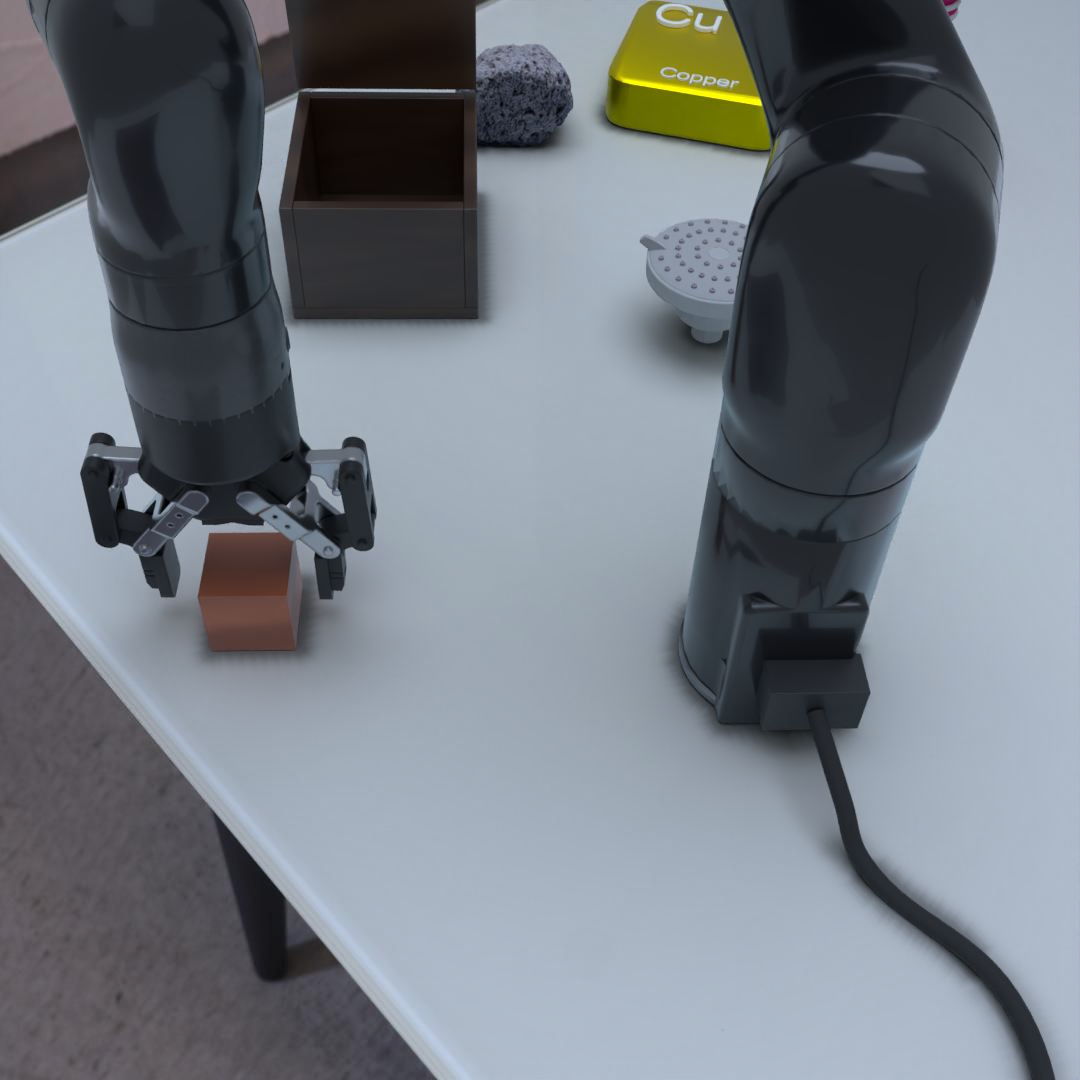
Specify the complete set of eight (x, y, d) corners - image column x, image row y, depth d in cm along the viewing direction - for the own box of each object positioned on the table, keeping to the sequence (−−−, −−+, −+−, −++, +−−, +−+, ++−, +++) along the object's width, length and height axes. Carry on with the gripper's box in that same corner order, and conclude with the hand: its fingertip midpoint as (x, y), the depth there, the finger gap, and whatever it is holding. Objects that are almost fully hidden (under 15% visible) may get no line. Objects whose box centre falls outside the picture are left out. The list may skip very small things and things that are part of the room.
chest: (478, 318, 92) (477, 209, 85) (293, 318, 91) (278, 208, 84) (477, 198, 101) (476, 92, 95) (311, 197, 101) (298, 90, 94)
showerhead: (650, 195, 90) (797, 216, 88) (641, 282, 95) (779, 302, 94) (629, 277, 83) (786, 300, 82) (620, 365, 89) (768, 387, 88)
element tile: (599, 125, 109) (603, 71, 106) (639, 42, 119) (643, -10, 115) (778, 156, 107) (788, 102, 103) (803, 68, 116) (813, 16, 113)
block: (295, 650, 72) (286, 596, 68) (211, 651, 72) (197, 597, 68) (303, 586, 75) (294, 531, 71) (221, 586, 75) (208, 532, 71)
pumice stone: (481, 117, 114) (433, 142, 106) (489, 24, 110) (439, 42, 102) (593, 141, 111) (552, 168, 103) (605, 46, 107) (563, 67, 99)
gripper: (28, 413, 57) (105, 640, 69) (356, 418, 58) (376, 642, 70) (66, 306, 62) (132, 534, 74) (367, 311, 63) (384, 537, 75)
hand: (250, 586), depth 72 cm, fingers open, 8 cm apart
